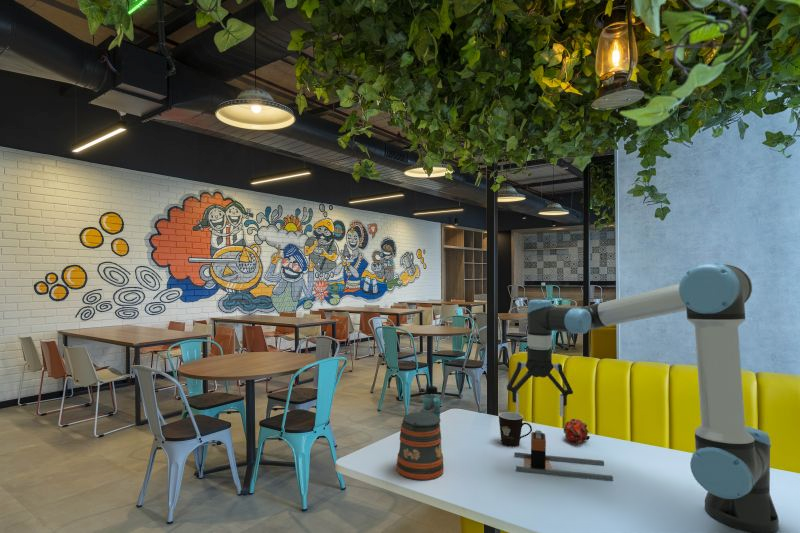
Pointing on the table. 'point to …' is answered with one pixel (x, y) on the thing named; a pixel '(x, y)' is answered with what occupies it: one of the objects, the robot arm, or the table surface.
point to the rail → (559, 472)
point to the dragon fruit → (576, 431)
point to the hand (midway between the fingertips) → (539, 414)
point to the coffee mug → (511, 428)
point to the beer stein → (421, 445)
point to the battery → (538, 449)
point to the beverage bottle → (436, 400)
